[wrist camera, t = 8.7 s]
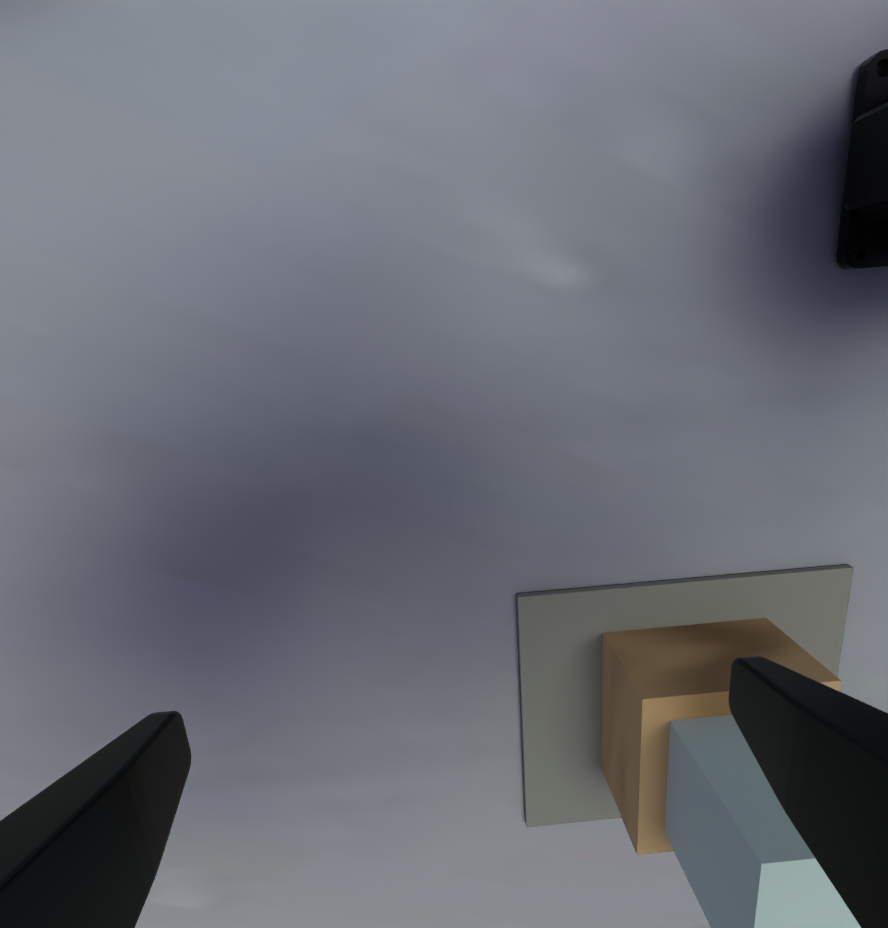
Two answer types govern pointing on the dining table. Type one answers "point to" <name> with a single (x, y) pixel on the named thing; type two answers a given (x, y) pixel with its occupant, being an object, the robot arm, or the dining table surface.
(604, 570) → the dining table surface
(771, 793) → the slate block
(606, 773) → the tan square block
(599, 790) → the mat
